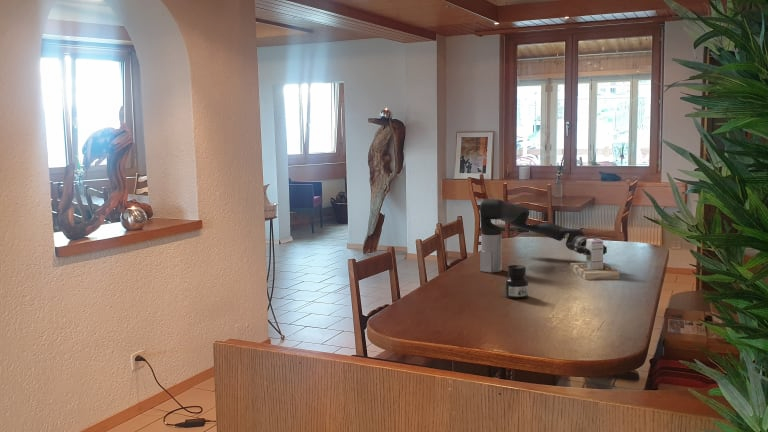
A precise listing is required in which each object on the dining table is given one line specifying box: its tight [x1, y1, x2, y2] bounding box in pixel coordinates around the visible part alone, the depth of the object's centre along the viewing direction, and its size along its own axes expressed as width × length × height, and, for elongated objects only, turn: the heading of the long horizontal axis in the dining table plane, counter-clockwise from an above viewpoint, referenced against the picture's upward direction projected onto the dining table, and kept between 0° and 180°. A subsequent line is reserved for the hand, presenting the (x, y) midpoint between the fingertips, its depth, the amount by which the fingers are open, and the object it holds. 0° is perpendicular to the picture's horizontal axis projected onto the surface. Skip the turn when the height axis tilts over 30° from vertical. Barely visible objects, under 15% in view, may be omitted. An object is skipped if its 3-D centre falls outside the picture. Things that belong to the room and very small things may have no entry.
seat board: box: [570, 262, 620, 281], centre depth 314 cm, size 22×15×3 cm
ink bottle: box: [504, 264, 529, 300], centre depth 275 cm, size 10×9×12 cm
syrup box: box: [585, 237, 604, 270], centre depth 313 cm, size 6×6×14 cm
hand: (596, 252), depth 310 cm, fingers closed on syrup box, 6 cm apart
